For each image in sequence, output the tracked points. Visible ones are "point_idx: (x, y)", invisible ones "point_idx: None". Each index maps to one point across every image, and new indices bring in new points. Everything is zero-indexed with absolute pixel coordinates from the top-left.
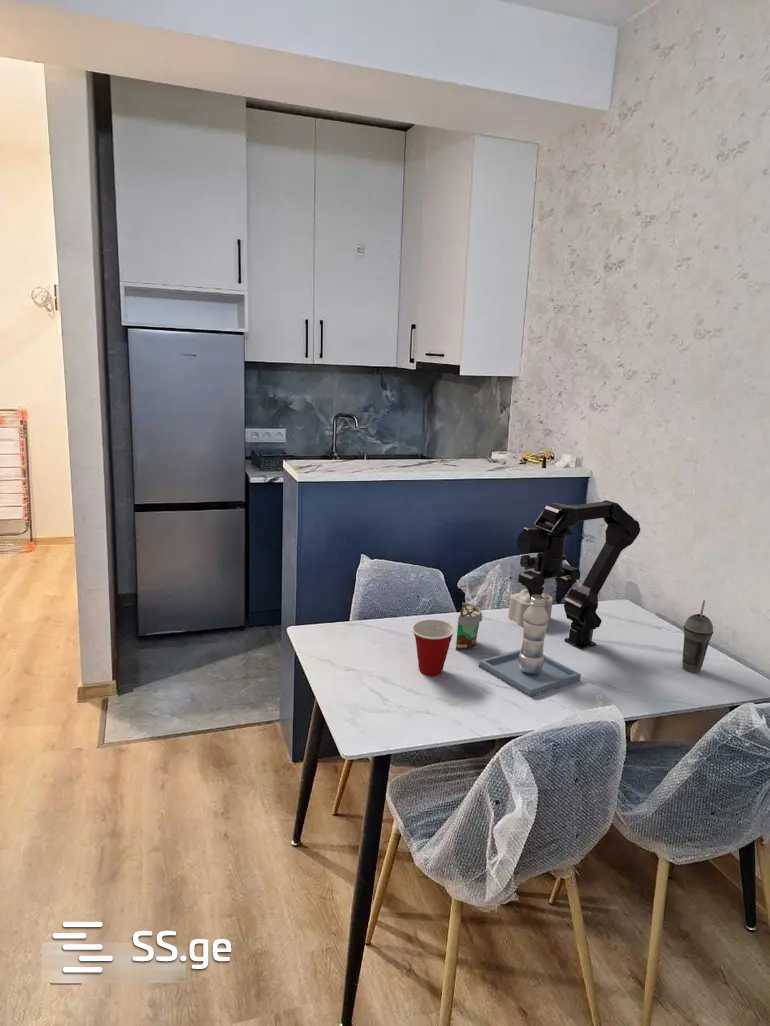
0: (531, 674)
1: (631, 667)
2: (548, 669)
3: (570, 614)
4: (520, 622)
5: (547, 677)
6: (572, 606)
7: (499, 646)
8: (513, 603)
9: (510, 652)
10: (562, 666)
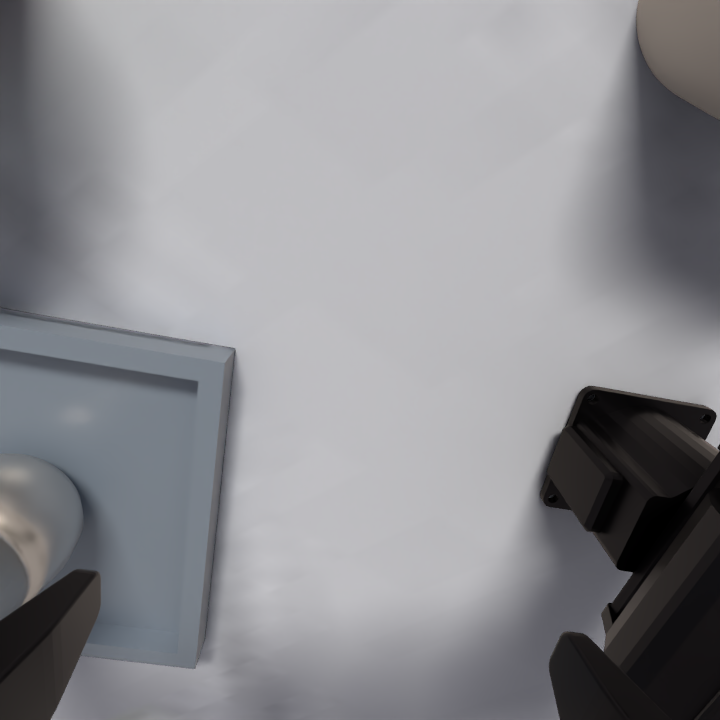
0: None
1: (514, 691)
2: (143, 534)
3: (664, 560)
4: None
5: (67, 572)
6: (711, 657)
7: (150, 160)
8: None
9: (45, 336)
10: (184, 594)
